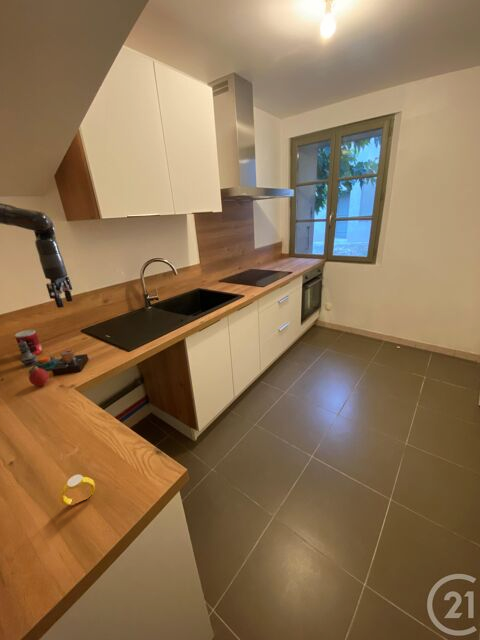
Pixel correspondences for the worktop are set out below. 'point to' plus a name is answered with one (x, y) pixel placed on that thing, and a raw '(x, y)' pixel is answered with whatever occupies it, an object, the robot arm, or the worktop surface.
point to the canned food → (30, 341)
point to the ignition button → (44, 359)
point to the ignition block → (46, 364)
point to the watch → (74, 483)
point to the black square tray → (70, 365)
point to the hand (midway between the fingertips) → (65, 304)
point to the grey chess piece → (26, 355)
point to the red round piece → (38, 376)
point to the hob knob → (68, 356)
